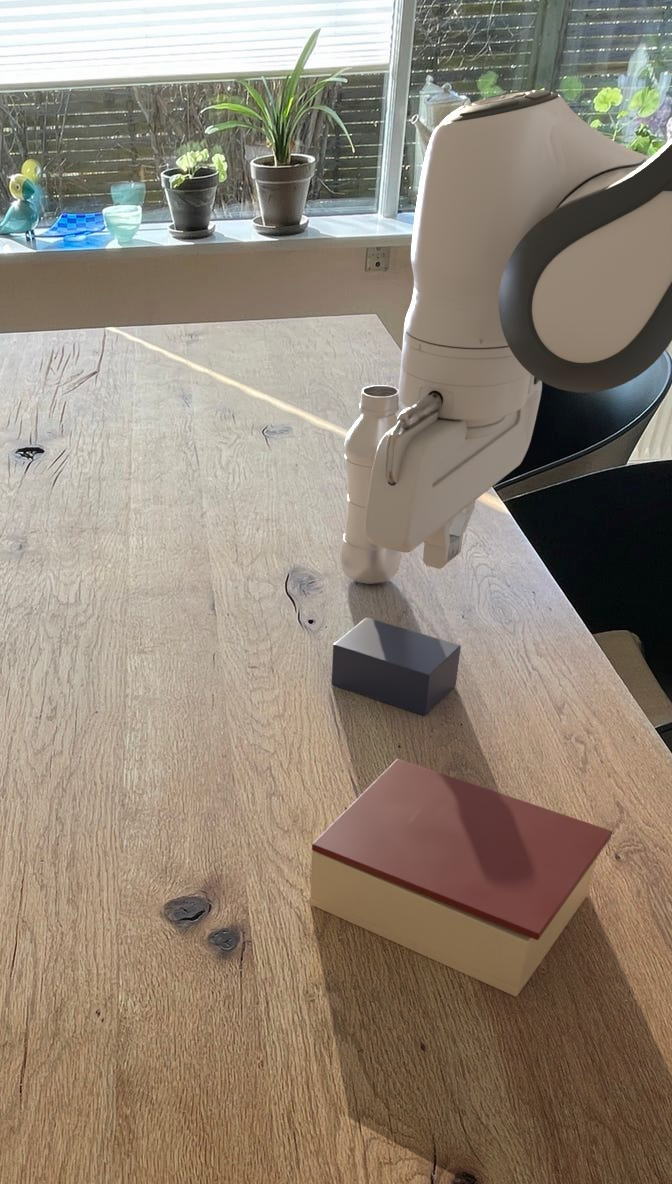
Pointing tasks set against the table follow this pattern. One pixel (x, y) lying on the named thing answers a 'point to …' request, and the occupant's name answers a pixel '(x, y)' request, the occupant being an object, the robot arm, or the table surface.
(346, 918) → the beige open box
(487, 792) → the cover
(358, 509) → the plastic bottle
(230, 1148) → the table surface
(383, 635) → the dark grey brick
